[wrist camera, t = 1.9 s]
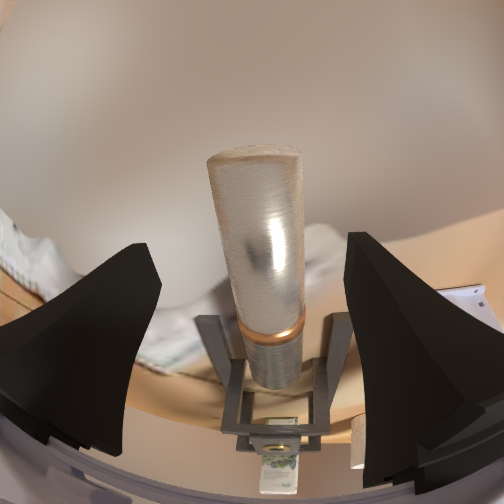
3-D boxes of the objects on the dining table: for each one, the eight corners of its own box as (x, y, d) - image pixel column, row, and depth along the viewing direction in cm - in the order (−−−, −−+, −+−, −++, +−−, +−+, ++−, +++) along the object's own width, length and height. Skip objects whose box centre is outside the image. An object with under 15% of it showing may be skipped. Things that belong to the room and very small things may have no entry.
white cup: (383, 405, 36) (390, 456, 28) (392, 415, 39) (398, 459, 31) (342, 417, 39) (344, 467, 31) (355, 426, 43) (358, 469, 34)
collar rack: (353, 311, 23) (371, 408, 15) (327, 409, 37) (328, 463, 29) (199, 315, 25) (172, 405, 17) (238, 409, 39) (230, 462, 31)
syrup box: (269, 426, 43) (263, 494, 31) (265, 416, 40) (257, 492, 28) (299, 425, 42) (297, 494, 30) (298, 416, 39) (295, 493, 27)
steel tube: (217, 148, 16) (191, 174, 12) (300, 142, 15) (306, 165, 11) (253, 346, 27) (246, 389, 23) (302, 346, 26) (302, 390, 22)
